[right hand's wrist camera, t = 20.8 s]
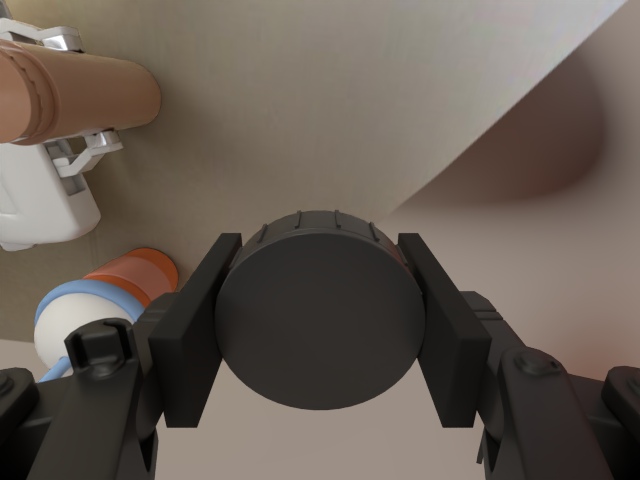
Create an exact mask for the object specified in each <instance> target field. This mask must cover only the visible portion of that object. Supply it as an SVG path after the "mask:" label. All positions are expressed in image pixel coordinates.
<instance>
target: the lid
mask: <svg viewBox="0 0 640 480" xmlns="http://www.w3.org/2000/svg"><path fill="white" fill-rule="evenodd" d="M408 265H409V264H408V263H407V261H406V259H405V257H404V255H403V253H402V251H401V249H400V247H399V246H398V244H397V245H394V243H393V242H392V241H391V240H390V239H389V238H388V237H387V236H386V235H385V234H384V233H383V232H381V231H380V230H379V229H377V228H376V227H375V226H374V224H373V223H372V222H370V223H368V222H366V221H364V220H362V219H359V218H357V217H354V216H352V215H348V214H344V213H340V212H339V210H335V212H332V211H307V212H301V210H300V211H297V213H296V214H292V215H288V216H286V217H283V218H281V219H278V220H276V221H274V222H272V223H270V224H269V225H267V224H264V225H263V227H262V229H261V230H260V231H258V232H257V233H256V234H255V235H254V236H253V237H252V238H251V239H250V240H249V241H248V242H247V243H246V244H245V246H244V247H243V248H242V247H240V248H239V250H238V251H237V253H236V255H235V257H234V259H233V261H232V263H231V265H230V267H229V268H230V269H231V270H230V272H229V274H228V276H227V278H226V280H225V281H224V283H223V285H222V287H221V289H220V291H219V293H218V295H217V297H216V305H215V310H214V329H215V337H216V341H217V344H218V348H219V350H220V352H221V354H222V356H223V359H224V360H225V362H226V363H227V365H228V366H229V368H230V369H231V370H232V372H233V373H234V374H235V375H236V376H237V377H238V378H239V379H240V380H241V381H242V382H243V383H244V384H245V385H246V386H248V387H249V388H251V389H252V390H253V391H255V392H256V393H258V394H260V395H262V396H263V397H265V398H267V399H270V400H272V401H274V402H277V403H280V404H283V405H286V406H289V407H294V408H299V409H307V410H332V409H341V408H345V407H350V406H354V405H357V404H360V403H363V402H365V401H368V400H370V399H372V398H375V397H376V396H378V395H380V394H382V393H383V392H385V391H386V390H388V389H389V388H390V387H392V386H393V385H394V384H396V383H397V382H398V381H399V380H400V379H401V378H402V377H403V376H404V375H405V374H406V372H407V371H408V370H409V369H410V368H411V366H412V364H413V363H414V361H415V360H416V358H417V356H418V354H419V351H420V349H421V347H422V343H423V340H424V335H425V327H426V312H425V307H424V302H423V298H422V297H423V294H422V292H421V290H420V288H419V286H418V284H417V282H416V280H415V279H414V277H413V275H412V273H411V272H410V270H409V268H408Z"/></svg>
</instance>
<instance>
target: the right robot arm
mask: <svg viewBox="0 0 640 480" xmlns="http://www.w3.org/2000/svg"><path fill="white" fill-rule="evenodd" d="M398 246H399V247H400V249H401V251H402V253H403V255H404V257H405V259H406V261H407V263H408V264H409V265H408V268H409V270H410V272H411V273H412V275H413V277H414V279H415V280H416V282H417V284H418V286H419V288H420V290H421V292H422V294H423V297H422V298H423V302H424V307H425V312H426V327H425V335H424V340H423V343H422V347H421V349H420V351H419V354H418V356H417V359H418V362H419V365H420V367H421V370H422V373H423V375H424V378H425V381H426V383H427V386H428V389H429V391H430V394H431V397H432V400H433V402H434V405H435V408H436V410H437V413H438V416H439V419H440V421H441V424H442V427H443V428H473V425H474V420H475V416H476V411H478V413H479V415H480V417H481V419H482V421H483V423H484V425H485V426H484V431H483V435H482V439H481V443H480V447H479V452H478V456H477V463H479V464H481V463H482V459H484V468H485V478H486V480H640V368H635V367H629V366H618V367H614V368H612V369H611V370H609V371H608V374H607V377H606V379H605V382H604V381H599V380H595V379H590V378H585V377H581V376H576V375H572V374H568V373H567V371H566V370H565V368H564V367H563V365H562V364H561V363H560V362H559V361H557V360H556V359H555V358H554V357H552V356H551V355H549V354H547V353H545V352H543V351H541V350H537V349H534V348H531V347H527V346H526V345H525V344H524V343H523V342H522V340H521V339H520V338H519V337H518V336H517V334H516V333H515V332H514V331H513V330H512V328H511V327H510V326H509V325H508V323H507V322H506V321H505V320H503V317H502V316H501V315H500V314H499V313H498V312H496V309H495V308H494V306H493V305H492V304H491V303H490V302H489V300H487V299H486V298H484V297H483V296H481V295H480V294H478V293H476V292H475V291H459V290H458V289H457V288H456V286H455V285H454V283H453V282H452V280H451V279H450V278H449V276H448V275H447V273H446V272H445V271H444V269H443V268H442V266H441V265H440V264H439V262H438V261H437V259H436V258H435V257H434V255H433V254H432V252H431V251H430V249H429V248H428V247H427V245H426V244H425V242H424V241H423V240H422V238H421V237H420V235H419V234H418V233H399V235H398ZM240 247H242V238H241V233H222V234H221V235H220V236H219V238H218V239H217V241H216V242H215V244H214V245H213V246H212V248H211V249H210V251H209V252H208V253H207V255H206V256H205V258H204V259H203V260H202V262H201V263H200V265H199V266H198V267H197V269H196V270H195V272H194V273H193V275H192V276H191V277H190V279H189V280H188V282H187V283H186V284H185V286H184V287H183V289H182V290H181V291H180V292H165V293H164V294H162V295H161V296H159V297H157V298H156V299H154V300H153V301H152V302H151V303H150V304H149V305H148V306H147V308H146V309H145V310H144V313H142V314H141V315H140V316H139V317H138V319H137V322H134V324H133V325H132V323H131V322H129V321H128V320H127V319H123V318H118V317H113V318H103V319H99V320H95V321H92V322H89V323H87V324H85V325H82V326H80V327H78V328H77V329H75V330H74V331H72V332H71V333H70V334H69V335H68V336H67V337H66V338H65V339H64V344H65V347H66V350H67V353H68V356H69V359H70V362H71V365H72V368H73V374H72V375H70V376H66V377H62V378H57V379H53V380H48V381H43V382H39V383H35V380H34V377H33V375H32V373H31V372H30V371H29V370H27V369H26V368H9V369H3V370H0V480H154V479H155V469H156V459H157V450H158V435H157V430H156V425H157V423H158V421H159V419H160V417H161V415H162V413H163V412H164V417H165V421H166V426H167V428H197V426H198V423H199V421H200V418H201V415H202V413H203V410H204V407H205V404H206V402H207V399H208V396H209V394H210V391H211V388H212V386H213V383H214V380H215V377H216V375H217V372H218V369H219V367H220V364H221V361H222V359H223V356H222V354H221V352H220V350H219V348H218V344H217V341H216V337H215V329H214V310H215V305H216V297H217V295H218V293H219V291H220V289H221V287H222V285H223V283H224V281H225V280H226V278H227V276H228V274H229V272H230V270H231V269H230V268H229V267H230V265H231V263H232V261H233V259H234V257H235V255H236V253H237V251H238V250H239V248H240Z"/></svg>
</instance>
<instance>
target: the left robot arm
mask: <svg viewBox="0 0 640 480" xmlns="http://www.w3.org/2000/svg"><path fill="white" fill-rule="evenodd" d="M0 39H5V40H10V41H16V42H22V43H28V44H34V45H36V42H35V40H37V41H40V42H43V44H44V46H45V47H51V48H57V49H63V50H68V51H74V52H80V53H86V52H85V49H84V47H83V44H82V41H81V38H80V36H79V33H78V31H77V29H75V28H71V27H67V26H58V27H53V28H49V29H42V28H39V27H36V26H33V25H31V24H28V23H24V22H19V21H15V20H13V18H12V15H11V13H10V11H9V9H8V6H7V4H6V2H5V0H0ZM83 137H84V139H85V142H86V144H87V148H86V149H85V150H84V151H83V152H82V153H80V154H75V155H74V154H73V152H72V149H71V147H70V145H69V143H68V140H67V139H65V140H60V141H54V142H49V143H43V144H38V145H32V146H20V145H14V144H11V143H2V144H0V247H2V248H3V249H4V250H6V251H19V250H24V249H29V248H33V247H35V246H37V245H38V244H46V243H57V242H65V241H70V240H74V239H77V238H79V237H81V236H83V235H85V234H86V233H88V232H90V231H91V230H93V229H94V228H95V227H96V225H97V223H98V222H99V220H100V218H101V214H100V212H99V209H98V207H97V205H96V203H95V201H94V198H93V196H92V194H91V192H90V189H89V187H88V185H87V183H86V181H85V178H84V176H83V174H82V173H83V172H86V171H89V170H92V169H93V167H94V166H95V165H96V164H97V163H98V162H99V161H100V159H101V158H102V157H103V156H104V155H105V153H108V152H112V151H116V150H120V149H123V146H122V143H121V140H120V138H119V135H118V133H117V130H110V131H105V132H100V133H98V134H93V135H88V136H83Z"/></svg>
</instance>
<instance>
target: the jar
mask: <svg viewBox="0 0 640 480" xmlns="http://www.w3.org/2000/svg"><path fill="white" fill-rule="evenodd" d="M160 107H161V93H160V89H159V86H158V84H157V82H156V80H155V78H154V77H153V76H152V74H151V73H150V72H149V71H148V70H147V69H145V68H144V67H143V66H141V65H139V64H137V63H135V62H132V61H126V60H121V59H115V58H109V57H103V56H97V55H92V54H86V53H80V52H74V51H68V50H63V49H57V48H51V47H45V46H39V45H34V44H28V43H22V42H16V41H10V40H5V39H0V144H2V143H11V144H14V145H20V146H32V145H38V144H43V143H49V142H54V141H60V140H65V139H71V138H77V137H82V136H88V135H93V134H98V133H100V132H105V131H110V130H121V129H127V128H132V127H138V126H143V125H146V124H148V123H150V122H151V121H152V120H154V119H155V117H156V116H157V114H158V113H159V110H160Z"/></svg>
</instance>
